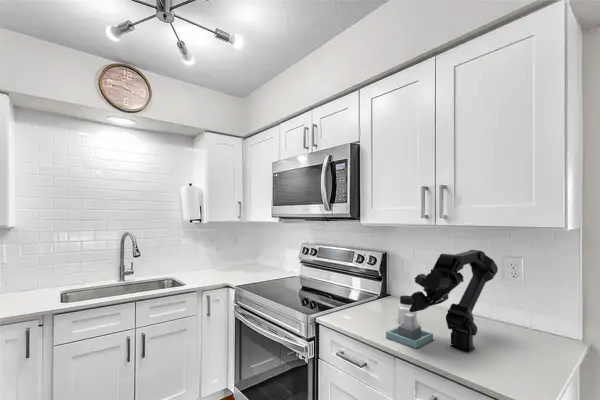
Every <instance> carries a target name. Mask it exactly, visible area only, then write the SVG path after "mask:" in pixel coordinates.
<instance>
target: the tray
mask: <svg viewBox="0 0 600 400" xmlns="http://www.w3.org/2000/svg"><path fill="white" fill-rule="evenodd" d="M385 336H386V337H385V339H388V340H390V341H393V342H395V343H398V344H401V345H404V346H406V347H409V348H412V349H415V350H417V349H420V348H421V347H423V346H426V345H427V344H428V343H431V342H432V341H434V333H432V332H429V331H426V330H422V329H421V338H420V339H418V340H416V341H414V340H411V339H409V338H406V337H403V336H400V335H398V326H397V327H394V328H392V329H389V330H387V331H386V332H385Z"/></svg>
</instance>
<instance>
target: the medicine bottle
mask: <svg viewBox="0 0 600 400" xmlns="http://www.w3.org/2000/svg"><path fill="white" fill-rule="evenodd" d="M399 298H400V299H399V302H400V303H399V304H397V310H398V311H397V313H398V314H397V319H398V322H399V324H400V325H402V324H404V315H405V314H408V313H409V314H412V315H415V325H417V311H416V312H410V311H409V309H410V307H411V306H412V304H413V301H414V300H413V299H412V297H411V295H408V294H403V295H400V296H399Z"/></svg>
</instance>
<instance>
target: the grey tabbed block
mask: <svg viewBox="0 0 600 400" xmlns="http://www.w3.org/2000/svg"><path fill="white" fill-rule="evenodd" d="M397 327H398V335H400V336H403V337H406V338H409V339H411V340H414V341H416V340H418V339H420V338H421V330H422V326H420V325H417V324H416V325H415V315H412V314H409V313H408V314H405V315H404V324H400V325H398V326H397Z"/></svg>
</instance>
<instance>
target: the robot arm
mask: <svg viewBox="0 0 600 400" xmlns="http://www.w3.org/2000/svg"><path fill="white" fill-rule="evenodd" d="M466 265H469V266H470V267H471V269H470V271H471V273H472V277H471V278H470V280H469V282H468V285H467V286H466V289H465V290H464V292H463V295H462V296H461V299H460V300H459V302H458V303H457V304H456V303H451V304H450V306H449V309H448V310H447V313H446V314H445V322H446V326H447V329H448V330H451V332H450V346H449V347H450V348H451V349H454V350H455V349H456V350H458V351H461V352H464V353H466V354H469V353H470V352H472V351H473V350H474V349H476V347H475V346H474V336H476V335H477V334H478V326H477V325H476V323H475V322H474V320H475V318H474V315H473V310H474V308H475V306H476V304H477V301H478V299H479V298H480V295H481V294H482V291H483V289H484V287H485V285H486V283H487V282H490V281H492V280H493V279H494V277H495V276H496V274H497V273H498V265H497V263H496V262H495V260H493V258H491V257H490V256H488V255H487V254H486V253H485V251H482V250H478V249H470V250H467V251H463V252H460V253H455V254H452V253H441V254H440V255H439V256H438V258H437V260H436V261H435V264H434V266H433V267H432V269H430V272H429V273H427V274H426V273H425V274H424V273H420V274H417V275H416V277H414V283H415V284H417V285H418V286H421V287H422V288H423V289H422V290H423V291H419V290H418V291H415V292H413V293H412V294H411V295H410V296H411V297H412V299H413V300H414V301H413V304H412V306H411V307H410V309H409V311H410V312H416V313H417V312H419V311H424V310H427V309H428V308H429V307H431V306H435V305H440V304H443V303H445V302H446V301H447V300H448V299H449V295H450V293H451V291H453V290H454V289H455V288H457V286H459V285H460V284H461V283H464V281H465V280H464V276H463V274H462V273H461V272H460V271H461V270H463V269H464V266H466ZM424 292H425V293H424ZM425 294H426V295H425Z"/></svg>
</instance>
